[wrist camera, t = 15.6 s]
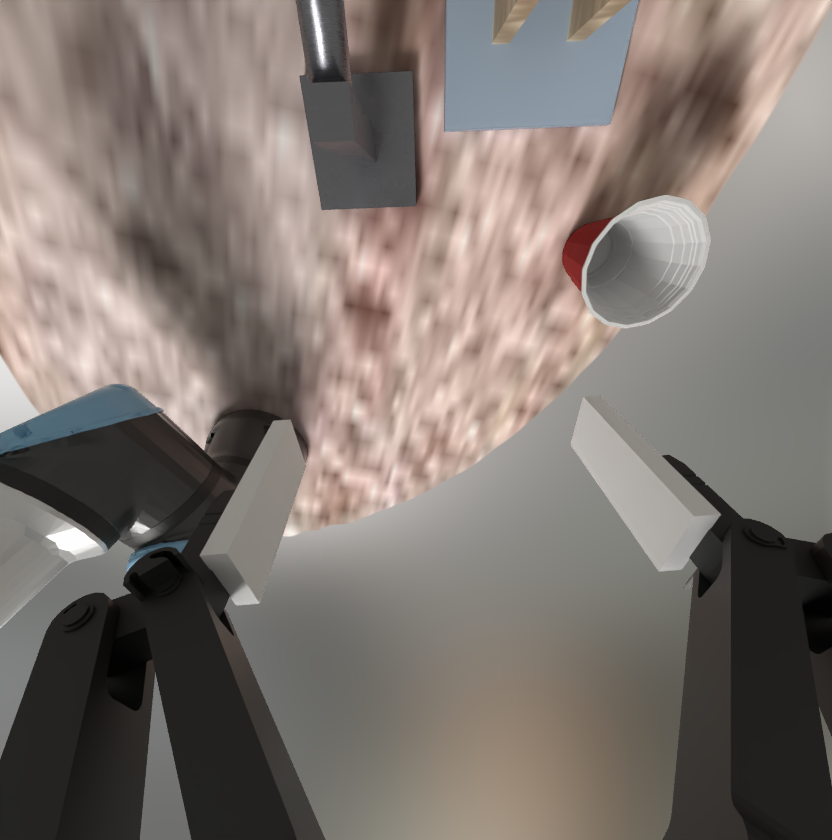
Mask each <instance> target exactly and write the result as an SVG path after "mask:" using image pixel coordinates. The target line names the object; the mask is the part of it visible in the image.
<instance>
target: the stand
mask: <svg viewBox="0 0 832 840" xmlns="http://www.w3.org/2000/svg"><path fill="white" fill-rule="evenodd" d="M296 5H297V12H298V18H299V25H300V31H301V37H302V44H303V50H304V56H305V63H306V69H307V75H302V76H300V82H301V88H302V94H303V100H304V106H305V112H306V118H307V124H308V130H309V136H310V142H311V148H312V154H313V160H314V166H315V172H316V178H317V184H318V190H319V196H320V202H321V208H322V210H331V209H355V208H380V207H404V206H416V179H415V143H414V106H413V71H401V72H376V73H352V74H351V68H350V59H349V49H348V39H347V30H346V20H345V10H344V1H343V0H296Z"/></svg>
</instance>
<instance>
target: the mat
mask: <svg viewBox="0 0 832 840" xmlns="http://www.w3.org/2000/svg"><path fill="white" fill-rule="evenodd" d="M572 2H573V0H539V2H538V3H537V4H536V6H535V7H534V9H533V10H532V12H531V13H530V14H529V16H528V17H527V19H526V20H525V22H524V23H523V24H522V26H521V27H520V29H519V30H518V32H517V33H516V34H515V36H514V37H513V39H512V40H511V41H510V43H509V44H492V33H493V18H494V3H495V0H446V17H445V100H444V132H456V131H480V130H505V129H530V128H554V127H579V126H603V125H608V124H611V119H612V115H613V111H614V106H615V102H616V98H617V93H618V89H619V84H620V80H621V76H622V71H623V67H624V63H625V58H626V54H627V50H628V45H629V41H630V37H631V32H632V28H633V24H634V19H635V15H636V11H637V6H638V2H639V0H631V1H630V2H629V3H628V4H627V5H625V6H624V7H623V8H622V9H621V10H619V11H618V12H617V13H616V14H615V15H614V16H612V17H611V18H610V19H609V20H608V21H606V22H605V23H604V24H603V25H602V26H600V27H599V28H598V29H597V30H596V31H594V32H593V33H592V34H591V35H590V36H589V37H587V38H586V39H585V40H584V41H567V34H568V28H569V21H570V15H571V8H572Z"/></svg>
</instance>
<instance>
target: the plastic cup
mask: <svg viewBox="0 0 832 840" xmlns="http://www.w3.org/2000/svg"><path fill="white" fill-rule="evenodd" d="M710 241H711V238H710V234H709V229H708V225H707V220H706V216H705V215H704V214H703V213H702V212H701V211H700V210H699V209H698V208H697V207H696V206H695V205H694V204H693V203H692V202H691V201H690V200H688V199H683V198H679V197H674V196H669V195H663V196H659V197H655V198H651V199H647V200H643V201H639V202H637V203H635V204H634V205H633V206H631V207H630V208H628V209H627V210H625V211H624V212H622V213H621V214H619V215H618V216H616V217H612V218H608V219H604V220H600V221H596V222H593V223H589V224H585V225H584V226H582V227H581V228H579V229H578V230H576V231H575V232H574V233H573V234H572V235H571V236H570V238H569V239H568V240H567V242H566V244H565V247H564V250H563V256H562V262H563V265H564V268H565V270H566V272H567V274H568V275H569V276H570V277H571V280H572V281H573V283H574V284H575V285H576V286H577V288H578V289H579V290H580V291H581V293H582V295H583V298H584V300H585V302H586V305H587V307H588V309H589V312H590V313H591V314H592V315H593V316H595V317H596V318H597V319H598V320H600V321H601V322H602V323H604V324H605V325H609V326H614V327H620V328H625V329H626V328H630V327H636V326H640V325H645V324H649V323H651V322H653V321H654V320H656V319H658V318H660V317H661V316H663V315H665V314H667V313H668V312H670V311H672V310H673V309H674V308H675V307H676V306H677V305H678V304H679V303H680V302H681V301H682V300H683V299H684V298H685V297H686V296H687V295H688V294H689V293H690V292H691V291H692V289H693V287H694V286H695V284H696V282H697V280H698V278H699V277H700V275H701V273H702V271H703V270H704V268H705V266H706V261H707V256H708V251H709V246H710Z"/></svg>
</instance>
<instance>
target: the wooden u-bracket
mask: <svg viewBox="0 0 832 840" xmlns="http://www.w3.org/2000/svg"><path fill="white" fill-rule="evenodd" d="M630 1H631V0H573V2H572V8H571V15H570V21H569V28H568V34H567V41H584V40H585V39H586V38H587V37H589V36H590V35H591V34H592V33H593V32H594V31H596V30H597V29H598V28H599V27H600V26H602V25H603V24H604V23H605V22H606V21H608V20H609V19H610V18H611V17H612V16H614V15H615V14H616V13H617V12H618V11H619V10H621V9H622V8H623V7H624V6H625V5H627V4H628V3H629V2H630ZM538 2H539V0H495V3H494V18H493V33H492V44H509V43H510V41H511V40H512V39H513V37H514V36H515V34H516V33H517V32H518V30H519V29H520V27H521V26H522V24H523V23H524V22H525V20H526V19H527V17H528V16H529V14H530V13H531V12H532V10H533V9H534V7H535V6H536V4H537V3H538Z"/></svg>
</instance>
